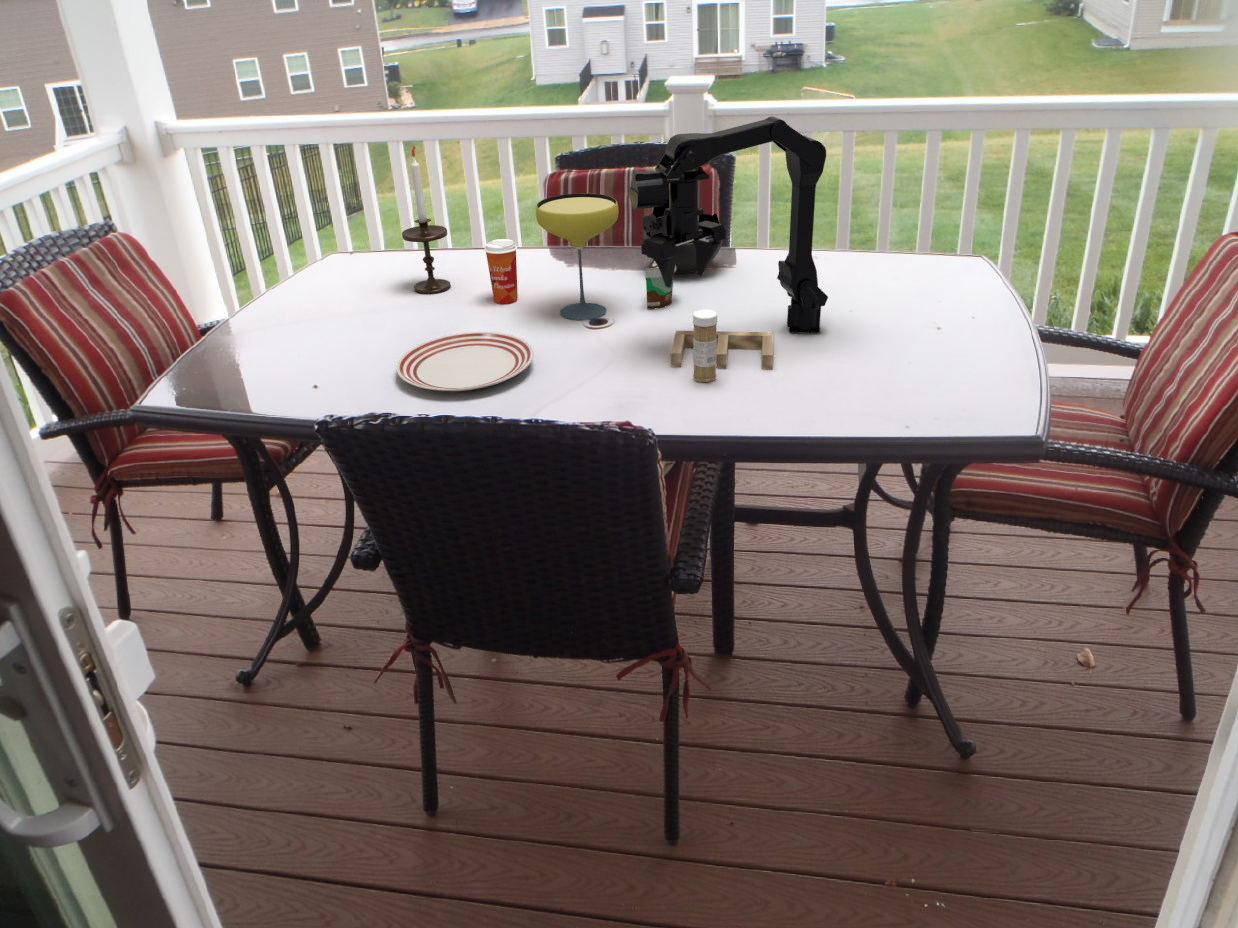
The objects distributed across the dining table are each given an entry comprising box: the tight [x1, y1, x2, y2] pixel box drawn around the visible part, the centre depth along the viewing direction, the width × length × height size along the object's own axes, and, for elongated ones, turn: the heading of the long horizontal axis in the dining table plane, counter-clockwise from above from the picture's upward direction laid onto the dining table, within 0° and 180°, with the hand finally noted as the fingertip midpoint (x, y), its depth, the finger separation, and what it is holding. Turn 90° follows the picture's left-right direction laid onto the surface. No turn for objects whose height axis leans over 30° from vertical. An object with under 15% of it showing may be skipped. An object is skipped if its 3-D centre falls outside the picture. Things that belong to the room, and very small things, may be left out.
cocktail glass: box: [535, 192, 619, 321], centre depth 208 cm, size 18×18×25 cm
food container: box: [644, 259, 677, 310], centre depth 215 cm, size 12×6×10 cm, turn 168°
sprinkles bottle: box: [692, 309, 718, 383], centre depth 176 cm, size 5×5×14 cm
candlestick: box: [401, 143, 452, 295], centre depth 224 cm, size 11×11×35 cm
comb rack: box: [670, 330, 774, 370], centre depth 188 cm, size 20×12×3 cm, turn 82°
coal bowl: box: [643, 199, 724, 274], centre depth 232 cm, size 20×20×19 cm
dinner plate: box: [396, 331, 535, 392], centre depth 186 cm, size 28×27×3 cm
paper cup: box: [483, 238, 519, 305], centre depth 219 cm, size 8×8×14 cm
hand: (684, 281), depth 187 cm, fingers open, 9 cm apart
